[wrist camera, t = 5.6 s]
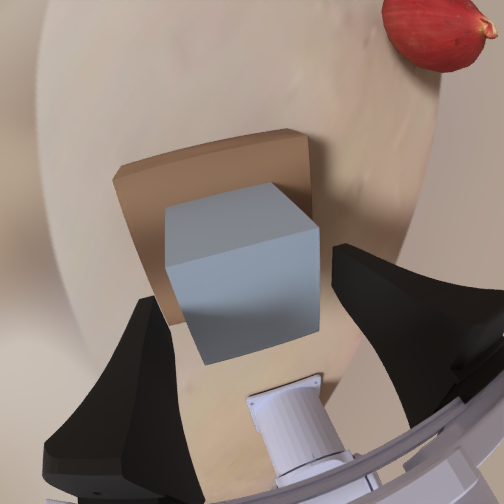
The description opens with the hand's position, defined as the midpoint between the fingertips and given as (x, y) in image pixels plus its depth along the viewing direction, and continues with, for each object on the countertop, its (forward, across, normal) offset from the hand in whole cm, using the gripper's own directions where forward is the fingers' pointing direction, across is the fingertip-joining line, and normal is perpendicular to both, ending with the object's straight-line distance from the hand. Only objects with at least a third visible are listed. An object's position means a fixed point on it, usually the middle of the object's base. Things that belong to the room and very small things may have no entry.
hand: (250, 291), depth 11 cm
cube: (+4, 0, 0) cm, 4 cm away
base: (+7, 0, 0) cm, 7 cm away
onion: (+7, -12, -11) cm, 18 cm away
